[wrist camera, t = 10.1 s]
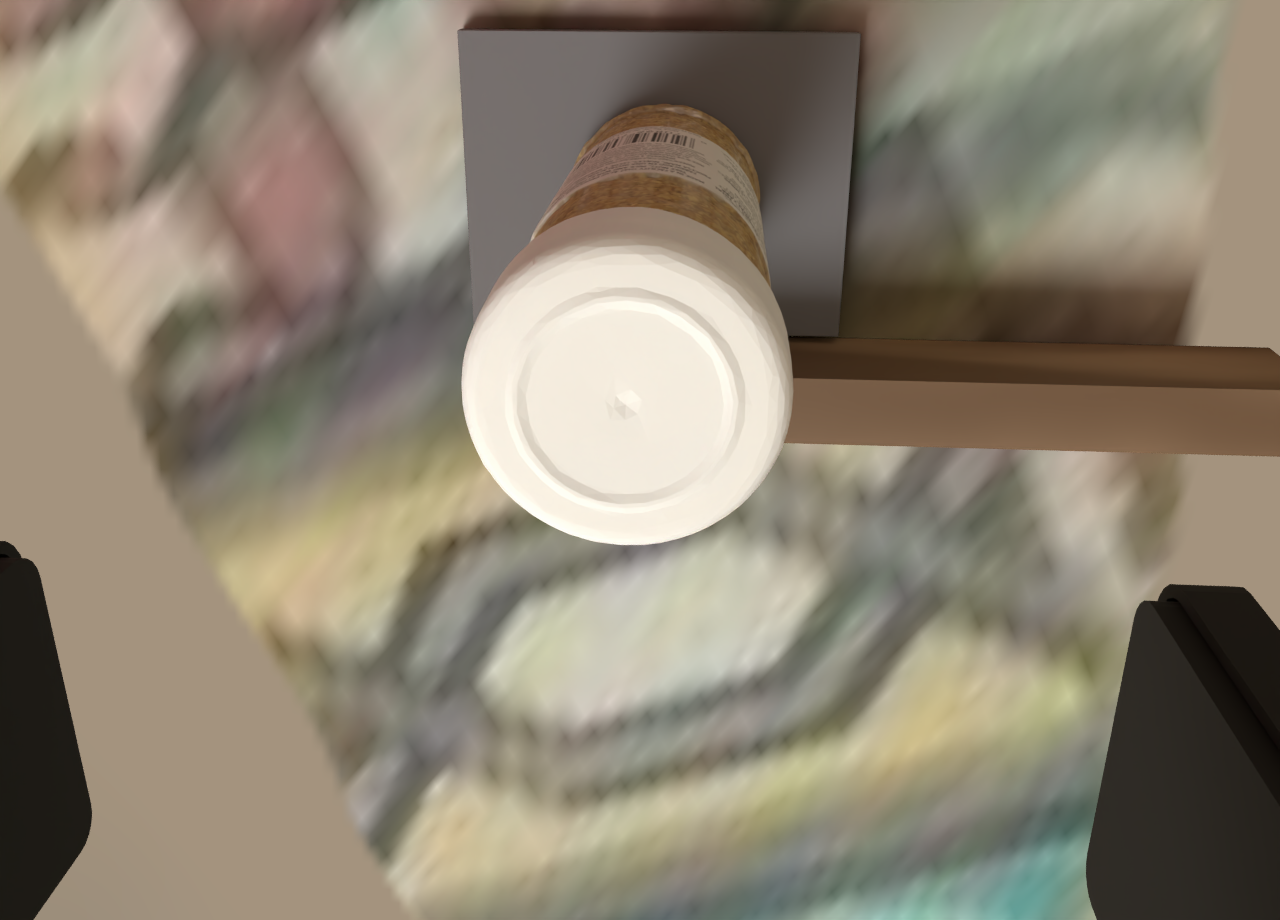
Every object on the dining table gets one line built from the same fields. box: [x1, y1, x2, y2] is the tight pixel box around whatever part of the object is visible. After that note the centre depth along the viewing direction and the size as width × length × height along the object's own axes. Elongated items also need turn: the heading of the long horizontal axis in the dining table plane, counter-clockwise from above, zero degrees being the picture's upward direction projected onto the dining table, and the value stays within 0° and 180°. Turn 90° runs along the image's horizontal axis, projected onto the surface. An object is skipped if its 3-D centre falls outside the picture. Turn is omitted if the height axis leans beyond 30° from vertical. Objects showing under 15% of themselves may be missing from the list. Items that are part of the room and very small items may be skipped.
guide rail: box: [784, 337, 1280, 456], centre depth 29 cm, size 2×17×3 cm, turn 90°
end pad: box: [458, 29, 861, 337], centre depth 28 cm, size 7×9×1 cm
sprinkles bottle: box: [462, 104, 793, 545], centre depth 22 cm, size 5×5×14 cm
